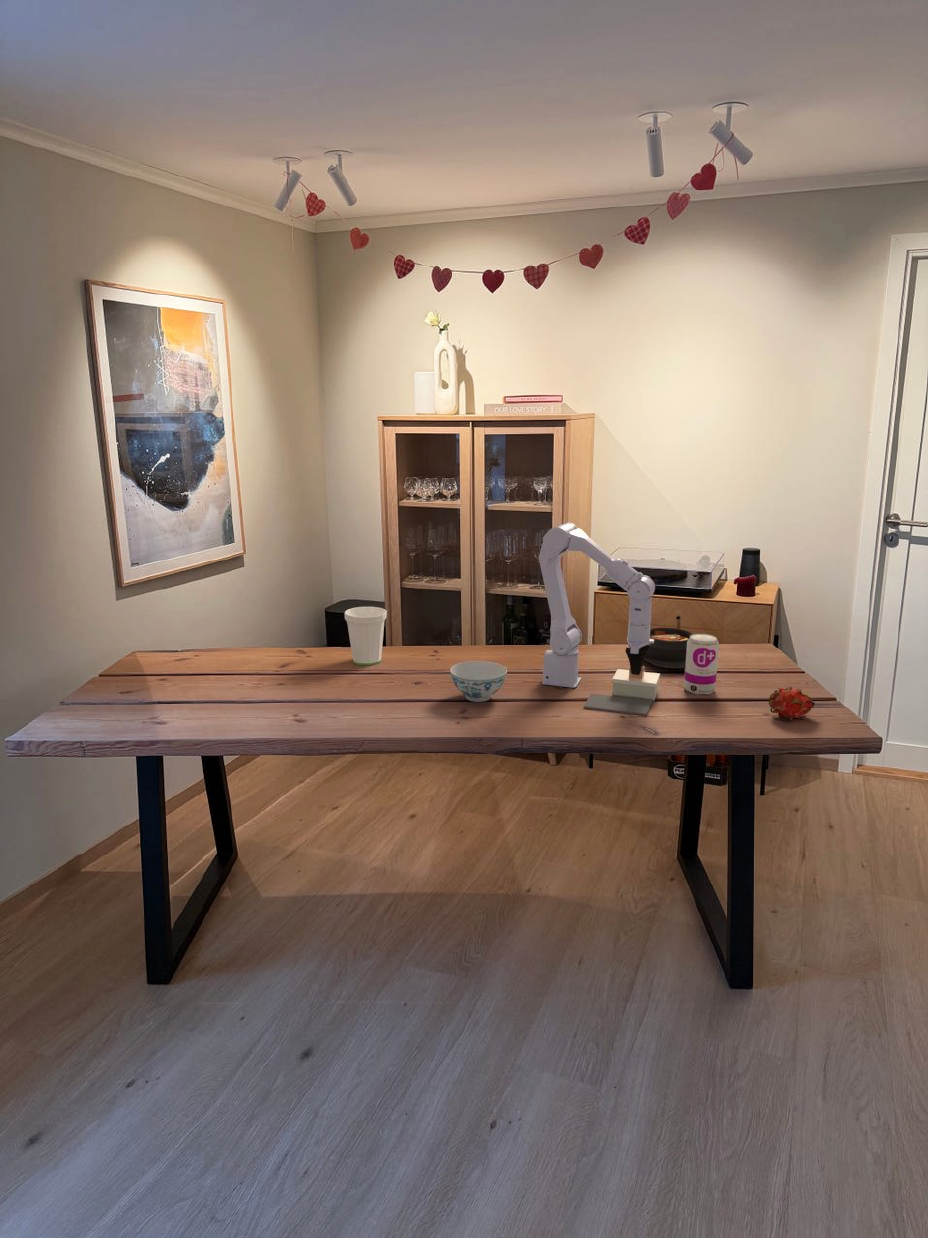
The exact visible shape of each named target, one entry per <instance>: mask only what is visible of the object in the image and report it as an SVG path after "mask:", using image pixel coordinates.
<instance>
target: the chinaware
mask: <svg viewBox="0 0 928 1238" xmlns="http://www.w3.org/2000/svg"><path fill="white" fill-rule="evenodd" d="M449 673H450V677H451V680H452V683H453V684H454V687H455V688H456V689H457V690H458V691H459V692H460V693H462V695H464V696H465V699H467V700H468V701H470V702H474V703H475V702H477V703H479V702H480V703H483V702H486V701H489V700H490V699H491V698H492V696H493V695H494V694H496V693H497V692H498V691H500V689H501V688H502V686H503V684H504V682H505V681H506V677H507V675H508V669H507V667H506V666H505V665H502V664H500V663H497V662H495V661H494V662H492V661H485V660H471V661H464V662H462V661H461V662H459V663H455V664H454V665H452V666H451V667H450V669H449Z"/></svg>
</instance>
